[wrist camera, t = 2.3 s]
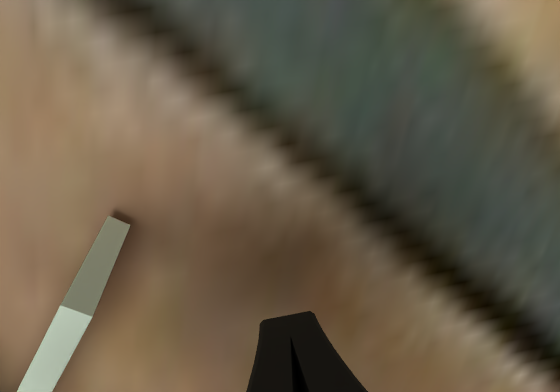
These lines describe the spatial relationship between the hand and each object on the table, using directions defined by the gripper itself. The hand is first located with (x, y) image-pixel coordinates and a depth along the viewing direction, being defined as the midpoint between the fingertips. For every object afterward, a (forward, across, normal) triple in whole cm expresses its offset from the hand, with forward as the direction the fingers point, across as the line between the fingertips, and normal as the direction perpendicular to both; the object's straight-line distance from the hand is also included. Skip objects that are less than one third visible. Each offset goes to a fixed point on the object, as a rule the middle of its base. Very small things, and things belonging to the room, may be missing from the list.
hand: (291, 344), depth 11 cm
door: (+5, +9, +2) cm, 10 cm away
